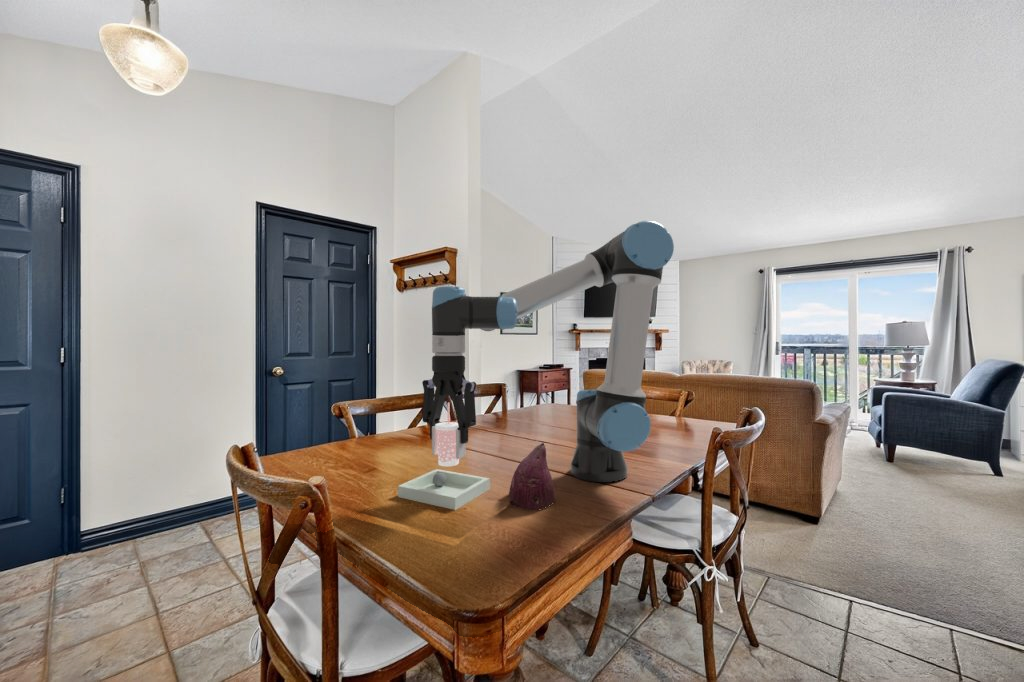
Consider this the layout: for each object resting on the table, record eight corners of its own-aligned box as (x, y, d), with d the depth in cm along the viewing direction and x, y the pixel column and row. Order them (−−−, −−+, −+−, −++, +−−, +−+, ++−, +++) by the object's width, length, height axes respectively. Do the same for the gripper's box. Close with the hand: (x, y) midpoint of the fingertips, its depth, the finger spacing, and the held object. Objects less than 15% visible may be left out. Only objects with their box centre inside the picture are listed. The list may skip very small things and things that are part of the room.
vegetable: (554, 509, 97) (571, 447, 98) (546, 522, 87) (564, 452, 88) (513, 493, 100) (529, 433, 101) (500, 504, 90) (519, 437, 91)
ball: (448, 485, 102) (448, 472, 102) (440, 489, 99) (440, 475, 99) (438, 483, 103) (438, 470, 103) (430, 486, 100) (429, 473, 100)
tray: (489, 492, 99) (489, 478, 99) (455, 514, 87) (455, 498, 87) (436, 482, 107) (436, 469, 107) (397, 501, 94) (397, 485, 94)
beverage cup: (450, 458, 99) (450, 399, 99) (467, 463, 95) (467, 402, 95) (429, 463, 94) (429, 402, 95) (446, 469, 90) (446, 405, 90)
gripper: (405, 354, 96) (405, 454, 96) (474, 355, 87) (474, 465, 87) (426, 353, 103) (426, 446, 103) (492, 354, 94) (492, 456, 94)
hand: (448, 455), depth 95 cm, fingers closed on beverage cup, 6 cm apart
